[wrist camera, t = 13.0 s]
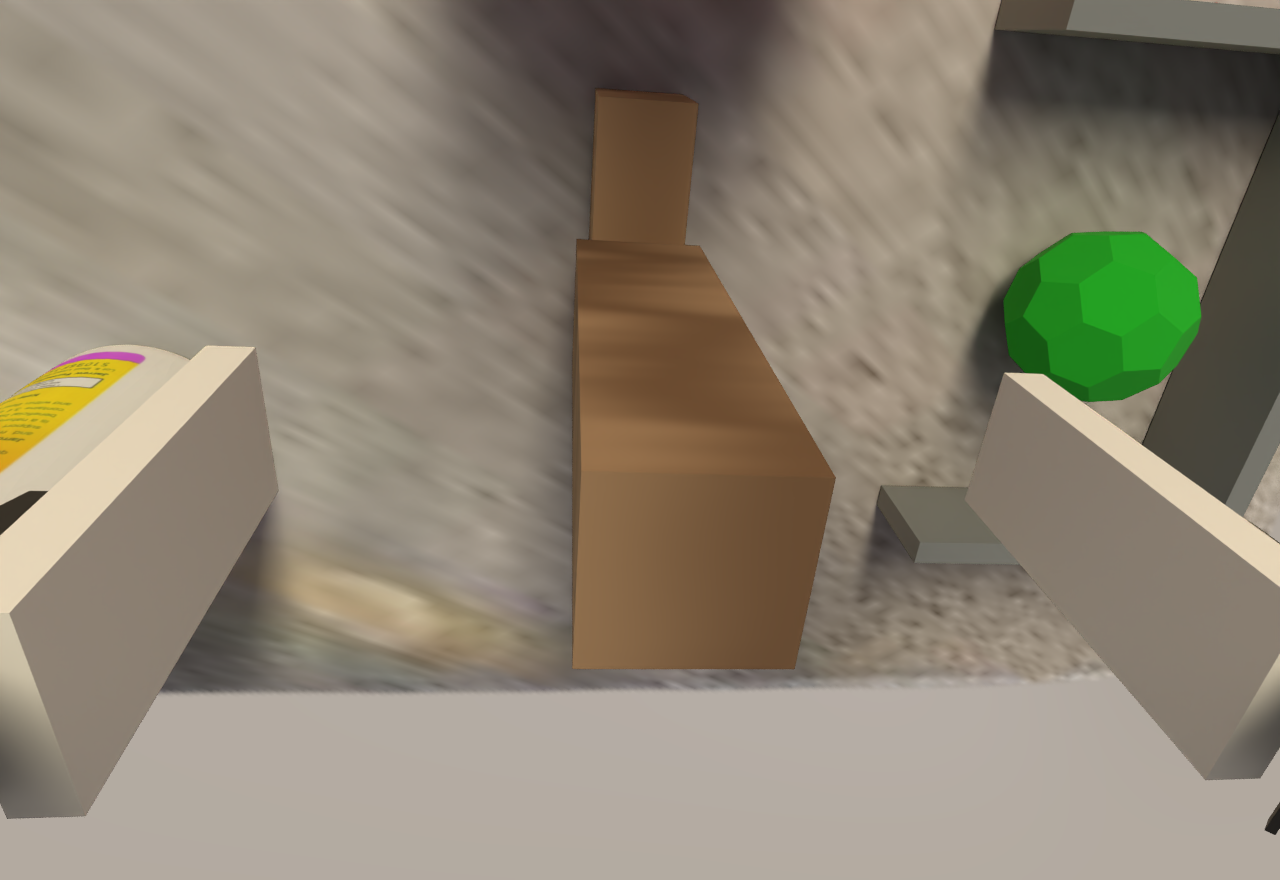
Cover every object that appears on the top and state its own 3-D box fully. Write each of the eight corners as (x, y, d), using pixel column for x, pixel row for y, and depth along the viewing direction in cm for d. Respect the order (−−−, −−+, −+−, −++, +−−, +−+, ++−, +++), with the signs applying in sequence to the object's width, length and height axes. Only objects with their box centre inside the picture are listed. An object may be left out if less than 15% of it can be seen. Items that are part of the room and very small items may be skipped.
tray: (877, 504, 28) (920, 572, 25) (1003, -4, 21) (1090, -11, 18) (1135, 510, 29) (1212, 576, 26) (1341, 26, 22) (1488, 26, 19)
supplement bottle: (15, 460, 25) (-448, 818, 14) (91, 294, 23) (-385, 557, 11) (220, 555, 27) (-31, 931, 16) (307, 412, 25) (88, 731, 14)
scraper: (568, 418, 26) (565, 828, 13) (580, 87, 21) (594, 181, 8) (665, 422, 26) (761, 825, 13) (697, 95, 22) (895, 201, 8)
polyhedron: (943, 312, 25) (1019, 370, 21) (1058, 179, 23) (1166, 212, 19) (1046, 390, 27) (1136, 457, 23) (1160, 270, 25) (1280, 319, 21)
